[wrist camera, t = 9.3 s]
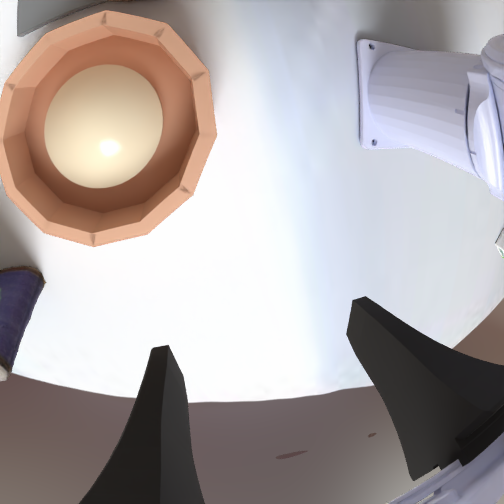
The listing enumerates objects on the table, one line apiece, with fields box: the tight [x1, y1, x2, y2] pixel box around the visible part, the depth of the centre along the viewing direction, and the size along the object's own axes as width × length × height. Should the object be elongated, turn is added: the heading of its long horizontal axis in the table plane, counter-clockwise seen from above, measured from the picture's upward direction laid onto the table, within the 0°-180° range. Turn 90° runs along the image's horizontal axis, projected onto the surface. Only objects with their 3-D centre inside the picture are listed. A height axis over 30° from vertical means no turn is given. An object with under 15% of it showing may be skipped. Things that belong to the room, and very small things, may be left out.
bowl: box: [0, 10, 217, 247], centre depth 13 cm, size 12×12×4 cm
